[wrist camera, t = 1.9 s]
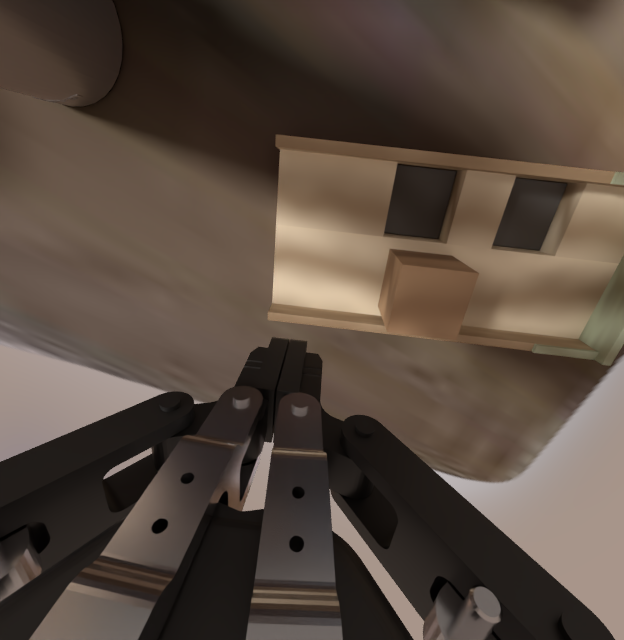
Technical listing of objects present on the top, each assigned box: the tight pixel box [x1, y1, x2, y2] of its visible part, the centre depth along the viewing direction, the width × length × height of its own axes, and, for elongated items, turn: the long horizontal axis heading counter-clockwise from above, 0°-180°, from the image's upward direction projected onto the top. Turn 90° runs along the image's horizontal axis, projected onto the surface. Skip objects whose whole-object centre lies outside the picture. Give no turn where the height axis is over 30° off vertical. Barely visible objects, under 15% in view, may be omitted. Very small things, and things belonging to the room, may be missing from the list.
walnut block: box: [378, 249, 479, 340], centre depth 23 cm, size 5×5×5 cm
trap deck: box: [268, 134, 624, 366], centre depth 24 cm, size 13×28×5 cm, turn 84°
